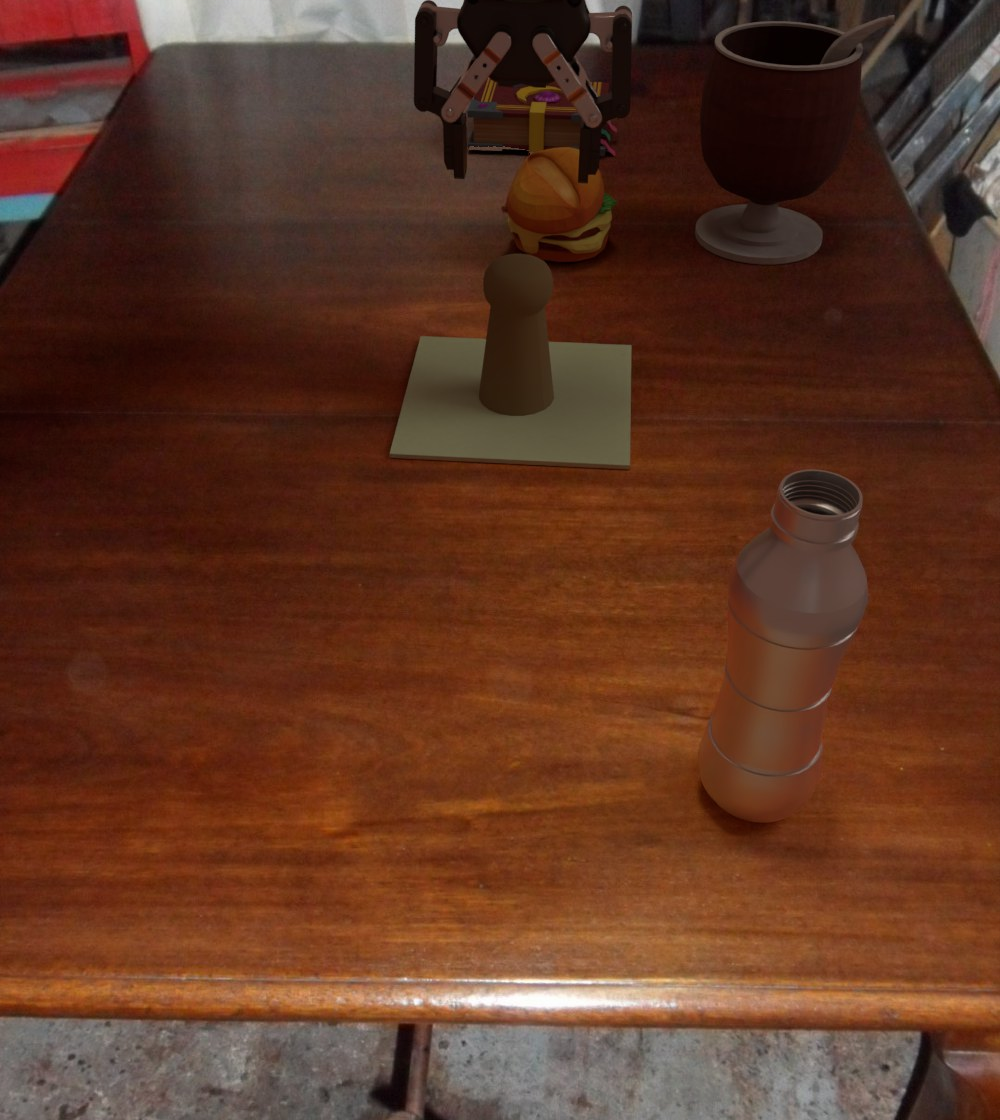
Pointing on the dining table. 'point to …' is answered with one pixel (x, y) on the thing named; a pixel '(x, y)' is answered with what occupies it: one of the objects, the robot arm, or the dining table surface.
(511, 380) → the cork
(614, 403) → the mat
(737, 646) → the plastic bottle
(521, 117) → the decorative book
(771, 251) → the mate gourd
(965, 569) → the dining table surface
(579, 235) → the cheeseburger
